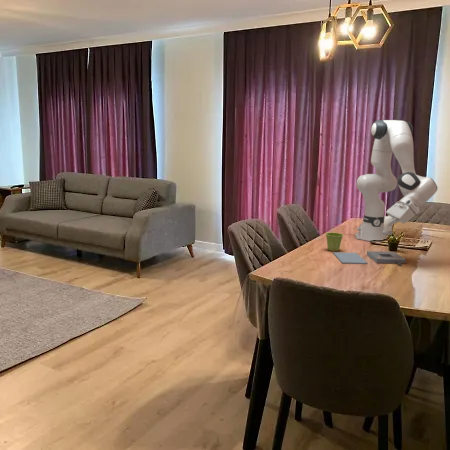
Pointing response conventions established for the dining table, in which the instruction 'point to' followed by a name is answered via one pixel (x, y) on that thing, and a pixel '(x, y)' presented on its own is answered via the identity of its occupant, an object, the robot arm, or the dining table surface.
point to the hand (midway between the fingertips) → (386, 224)
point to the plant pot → (333, 241)
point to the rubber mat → (349, 258)
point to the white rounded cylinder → (387, 226)
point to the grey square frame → (386, 257)
